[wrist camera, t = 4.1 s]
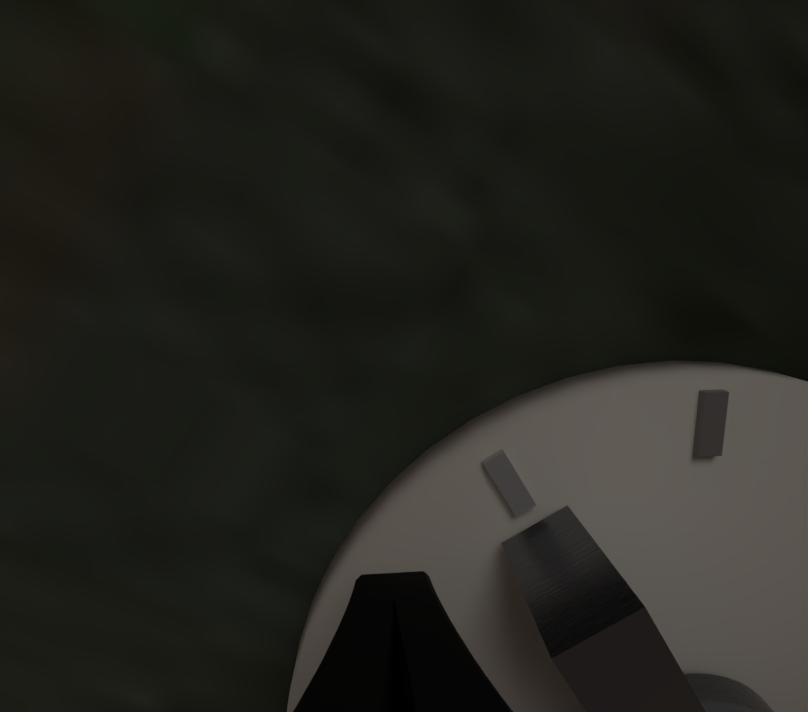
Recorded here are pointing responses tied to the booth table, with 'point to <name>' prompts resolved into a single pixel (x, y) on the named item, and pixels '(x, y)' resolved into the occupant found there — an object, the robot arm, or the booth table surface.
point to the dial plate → (609, 524)
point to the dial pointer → (607, 629)
